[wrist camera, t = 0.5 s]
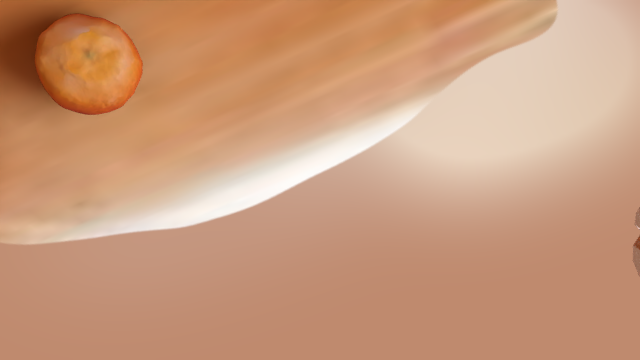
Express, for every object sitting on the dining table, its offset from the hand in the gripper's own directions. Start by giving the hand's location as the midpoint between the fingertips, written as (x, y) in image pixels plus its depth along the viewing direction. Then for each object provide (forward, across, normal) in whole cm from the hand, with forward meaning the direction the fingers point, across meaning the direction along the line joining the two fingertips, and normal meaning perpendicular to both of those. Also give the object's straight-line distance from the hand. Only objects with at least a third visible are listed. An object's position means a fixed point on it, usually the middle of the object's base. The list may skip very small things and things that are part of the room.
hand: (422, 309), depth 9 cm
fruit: (+45, +12, +4) cm, 47 cm away
